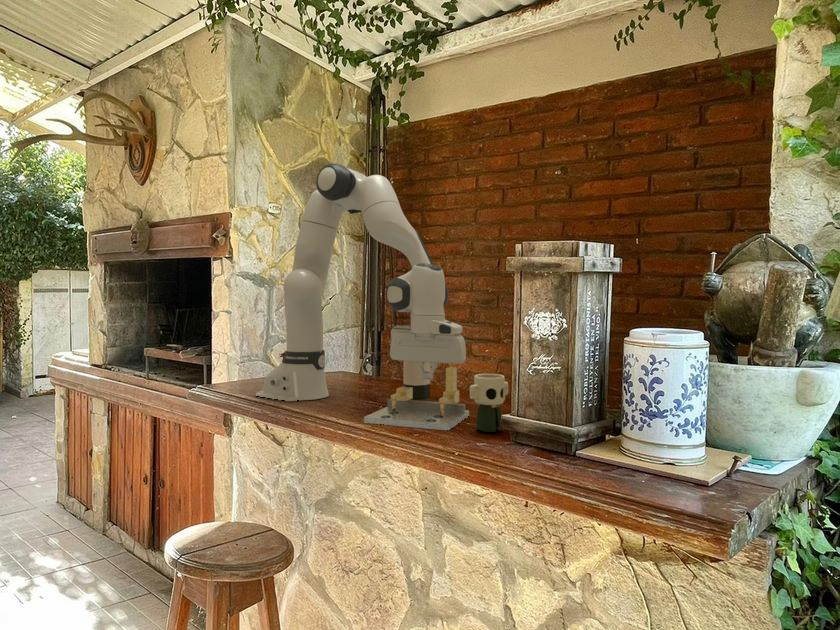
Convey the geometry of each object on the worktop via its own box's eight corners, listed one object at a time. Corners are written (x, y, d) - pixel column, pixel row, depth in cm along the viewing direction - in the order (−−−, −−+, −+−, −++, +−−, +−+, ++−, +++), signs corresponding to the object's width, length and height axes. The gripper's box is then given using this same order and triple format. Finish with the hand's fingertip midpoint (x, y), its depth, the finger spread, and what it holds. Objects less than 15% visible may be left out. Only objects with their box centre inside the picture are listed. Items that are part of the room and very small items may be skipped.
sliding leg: (435, 414, 149) (435, 371, 148) (448, 407, 158) (448, 366, 157) (447, 415, 148) (447, 372, 147) (459, 408, 157) (459, 367, 156)
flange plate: (364, 423, 149) (363, 395, 149) (391, 410, 165) (391, 385, 164) (448, 430, 141) (448, 401, 141) (469, 416, 157) (469, 390, 156)
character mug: (479, 437, 135) (479, 379, 134) (461, 430, 141) (461, 375, 140) (517, 431, 140) (517, 375, 140) (498, 425, 146) (498, 372, 146)
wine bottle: (435, 397, 184) (435, 299, 182) (413, 400, 179) (412, 299, 178) (420, 393, 190) (420, 298, 189) (398, 396, 186) (397, 298, 184)
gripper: (386, 325, 157) (385, 377, 158) (461, 328, 150) (460, 383, 150) (395, 324, 163) (395, 374, 164) (468, 326, 156) (467, 380, 156)
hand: (426, 379), depth 157 cm, fingers closed
